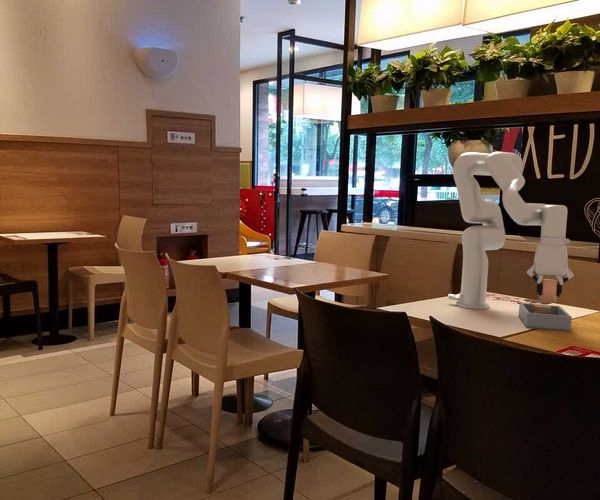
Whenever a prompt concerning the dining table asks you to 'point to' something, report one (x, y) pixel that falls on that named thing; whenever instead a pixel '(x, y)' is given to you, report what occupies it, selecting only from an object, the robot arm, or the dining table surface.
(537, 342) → the dining table surface
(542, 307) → the walnut cube
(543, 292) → the terracotta cylinder
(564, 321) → the tote
